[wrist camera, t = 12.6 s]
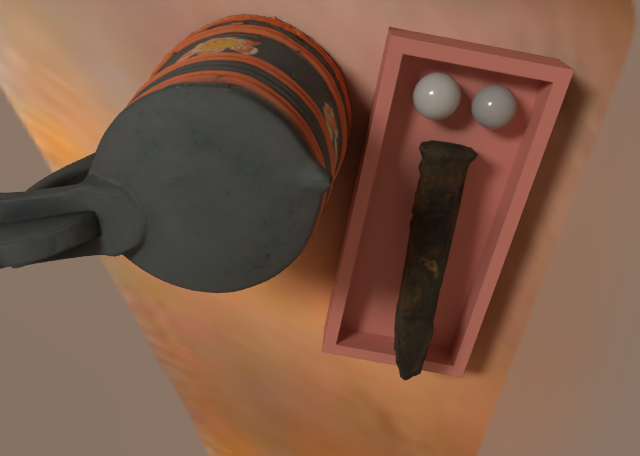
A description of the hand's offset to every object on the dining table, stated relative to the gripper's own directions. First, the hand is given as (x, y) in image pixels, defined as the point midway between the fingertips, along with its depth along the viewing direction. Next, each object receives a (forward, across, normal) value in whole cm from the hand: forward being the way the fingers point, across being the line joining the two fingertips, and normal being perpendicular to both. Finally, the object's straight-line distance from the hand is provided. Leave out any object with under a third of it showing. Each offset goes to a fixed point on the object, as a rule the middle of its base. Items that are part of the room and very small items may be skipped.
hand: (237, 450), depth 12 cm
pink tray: (+35, +10, -9) cm, 37 cm away
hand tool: (+33, +10, -12) cm, 36 cm away
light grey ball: (+34, +8, 0) cm, 35 cm away
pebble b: (+34, +12, 0) cm, 36 cm away
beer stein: (+35, -7, -5) cm, 36 cm away
